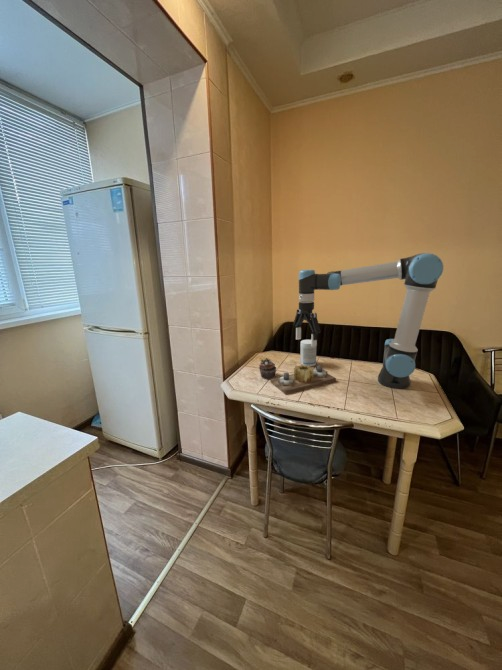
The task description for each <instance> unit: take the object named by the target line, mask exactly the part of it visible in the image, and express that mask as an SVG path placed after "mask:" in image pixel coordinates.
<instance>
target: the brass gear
mask: <svg viewBox="0 0 502 670" xmlns="http://www.w3.org/2000/svg"><path fill="white" fill-rule="evenodd" d="M301 369H306V370H301ZM314 369H315V368H314V366H310V365H307V366H306V365H301V364H300V365H295V366H294V368H293V374H294V379H296V380H297V382H300V381H301V382H304V383H307V382H308V381H312V379H313V373H314Z"/></svg>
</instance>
